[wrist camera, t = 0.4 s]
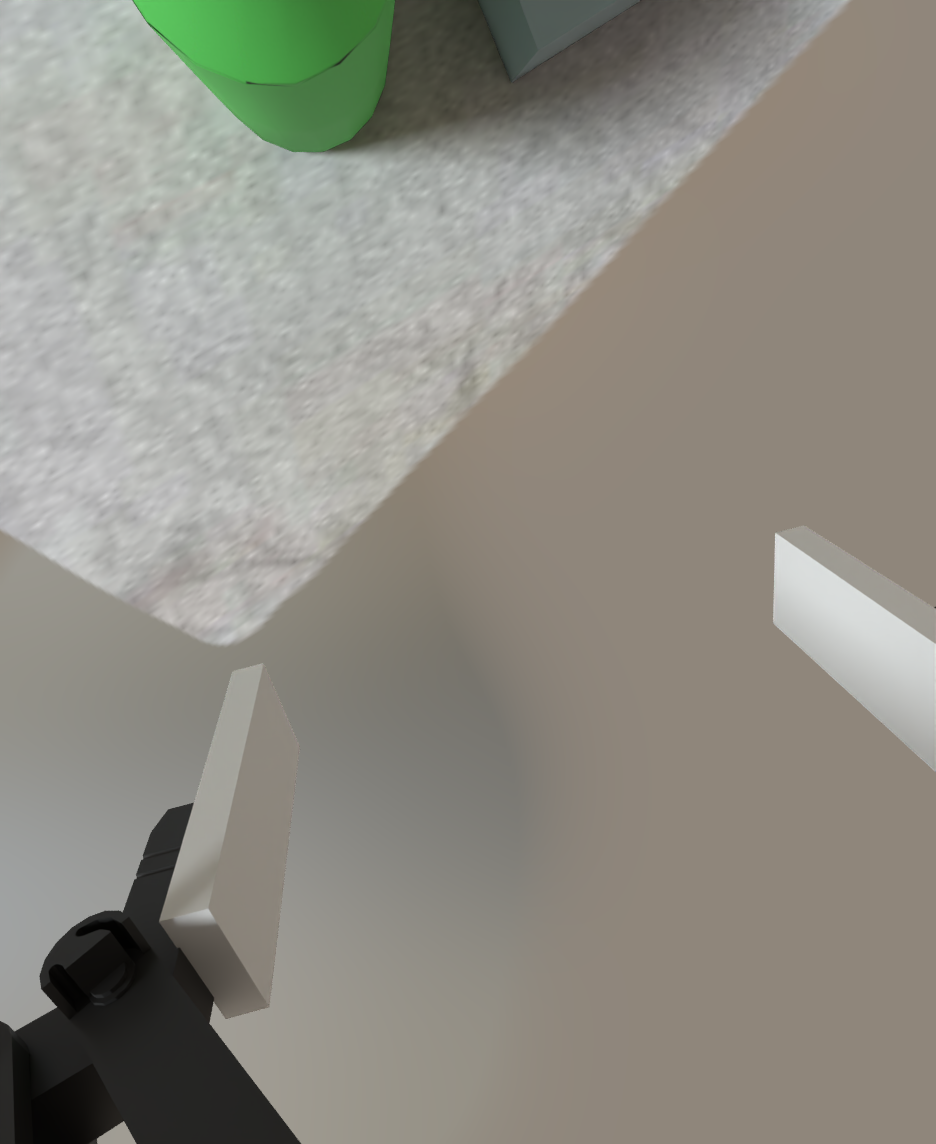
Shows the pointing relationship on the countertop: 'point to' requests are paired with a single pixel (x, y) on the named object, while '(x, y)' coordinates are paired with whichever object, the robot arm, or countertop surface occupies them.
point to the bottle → (284, 61)
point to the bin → (543, 27)
